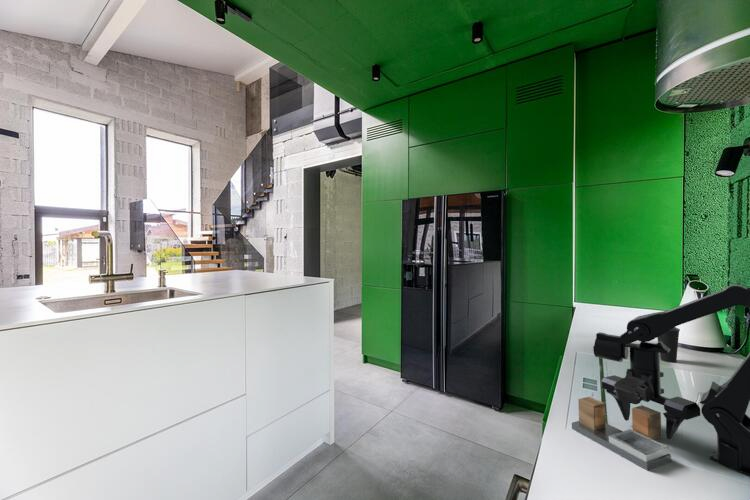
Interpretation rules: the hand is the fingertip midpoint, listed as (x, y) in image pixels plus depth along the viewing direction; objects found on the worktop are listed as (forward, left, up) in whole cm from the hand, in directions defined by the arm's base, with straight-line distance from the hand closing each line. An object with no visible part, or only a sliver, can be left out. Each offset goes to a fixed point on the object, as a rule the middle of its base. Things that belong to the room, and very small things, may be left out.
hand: (646, 429), depth 78 cm
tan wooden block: (0, 0, -1) cm, 1 cm away
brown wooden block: (+11, -6, 0) cm, 13 cm away
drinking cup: (-69, -31, -1) cm, 76 cm away
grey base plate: (+11, 0, -1) cm, 11 cm away
